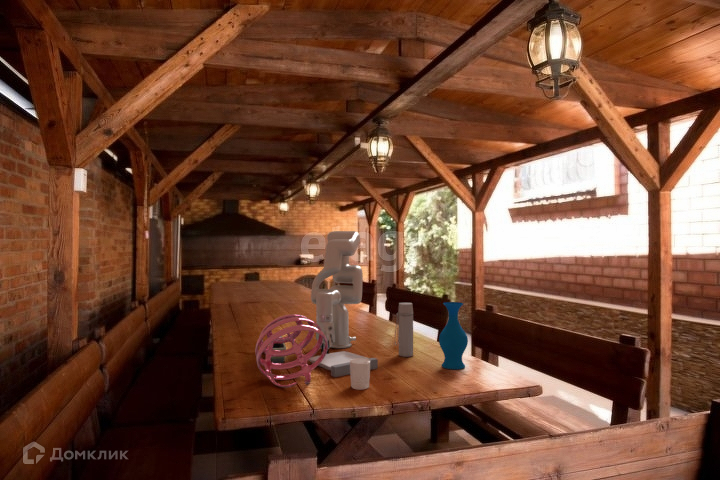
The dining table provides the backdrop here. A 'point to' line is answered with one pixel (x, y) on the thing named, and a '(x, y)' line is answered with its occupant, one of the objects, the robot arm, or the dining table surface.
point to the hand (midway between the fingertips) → (324, 357)
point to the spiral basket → (295, 348)
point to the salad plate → (335, 359)
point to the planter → (278, 347)
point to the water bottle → (405, 329)
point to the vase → (453, 339)
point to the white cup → (360, 373)
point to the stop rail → (345, 368)
